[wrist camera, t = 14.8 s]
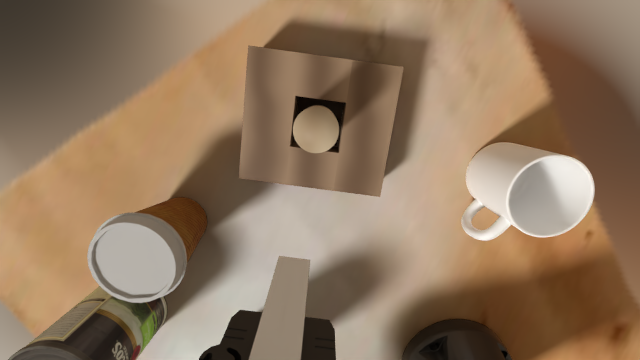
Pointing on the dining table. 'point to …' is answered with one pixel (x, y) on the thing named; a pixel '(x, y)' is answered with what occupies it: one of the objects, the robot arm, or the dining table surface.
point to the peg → (316, 129)
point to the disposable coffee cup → (146, 249)
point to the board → (327, 84)
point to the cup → (527, 190)
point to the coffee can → (98, 330)
